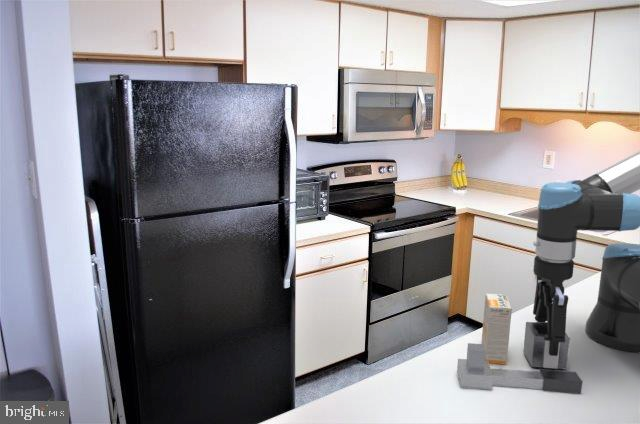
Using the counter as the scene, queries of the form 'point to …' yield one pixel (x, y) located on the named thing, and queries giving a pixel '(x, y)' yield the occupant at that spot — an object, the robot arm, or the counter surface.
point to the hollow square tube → (542, 345)
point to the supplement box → (496, 328)
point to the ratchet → (511, 375)
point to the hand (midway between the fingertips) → (544, 358)
